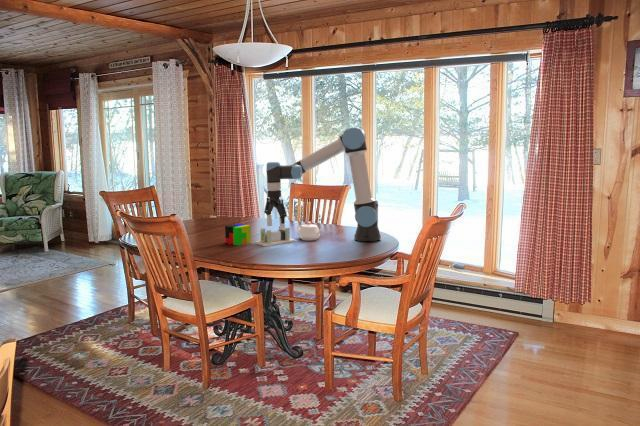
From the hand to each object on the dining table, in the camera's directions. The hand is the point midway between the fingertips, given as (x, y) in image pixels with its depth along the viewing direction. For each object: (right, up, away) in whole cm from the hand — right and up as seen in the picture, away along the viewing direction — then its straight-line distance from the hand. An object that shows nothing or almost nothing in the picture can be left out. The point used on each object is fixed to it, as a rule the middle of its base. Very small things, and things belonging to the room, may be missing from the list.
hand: (275, 227), depth 292 cm
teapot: (+19, -7, +10) cm, 23 cm away
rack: (0, -8, +1) cm, 9 cm away
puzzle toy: (-21, -9, +1) cm, 23 cm away
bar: (-1, -7, +1) cm, 7 cm away
